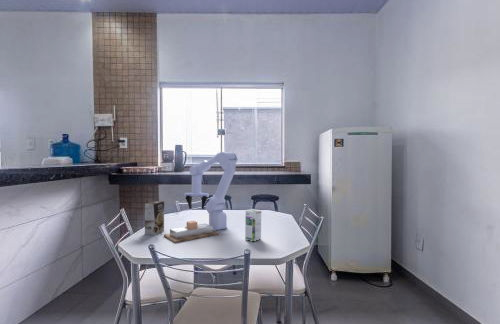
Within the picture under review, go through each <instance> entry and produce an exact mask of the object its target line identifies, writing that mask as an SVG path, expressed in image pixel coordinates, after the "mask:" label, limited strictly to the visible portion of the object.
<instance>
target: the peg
mask: <svg viewBox="0 0 500 324" xmlns="http://www.w3.org/2000/svg"><path fill="white" fill-rule="evenodd" d="M197 225H198V221H196V220H190V221H186V227H187V229H189V230H190V229H196V228H197Z"/></svg>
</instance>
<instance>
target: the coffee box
mask: <svg viewBox="0 0 500 324" xmlns="http://www.w3.org/2000/svg"><path fill="white" fill-rule="evenodd" d="M164 231H165V201H164V200H161V201H160V200H159V201H157V200H156V201H150V202H146V203H145V204H144V235H148V236H149V235H151V236H156V235H158V234H161V233H162V232H164Z"/></svg>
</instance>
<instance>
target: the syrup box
mask: <svg viewBox="0 0 500 324" xmlns="http://www.w3.org/2000/svg"><path fill="white" fill-rule="evenodd" d="M244 221H245V227H244V229H245V230H244V231H245V235H244V236H245V238H244V240H245V241H248V240H250V241H249V242H252V241H256V240H259V239H261V240H262V210H260V209H254V208H249V209H245V220H244ZM259 241H260V240H259ZM256 242H257V241H256Z"/></svg>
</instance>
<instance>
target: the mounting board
mask: <svg viewBox="0 0 500 324" xmlns="http://www.w3.org/2000/svg"><path fill="white" fill-rule="evenodd" d="M214 236H220V232H218V231H217V230H213V232H210V233H204V234H199V235H193V236H188V237H182V238H177V239H176V238H174V237H172V236H171V235H170V232H169V233H165V234H163V237H164V238H165V239H167V240H168V241H171V242H172V243H174V244H177V243H183V242H187V241H193V240H198V239H203V238H209V237H214Z"/></svg>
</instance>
